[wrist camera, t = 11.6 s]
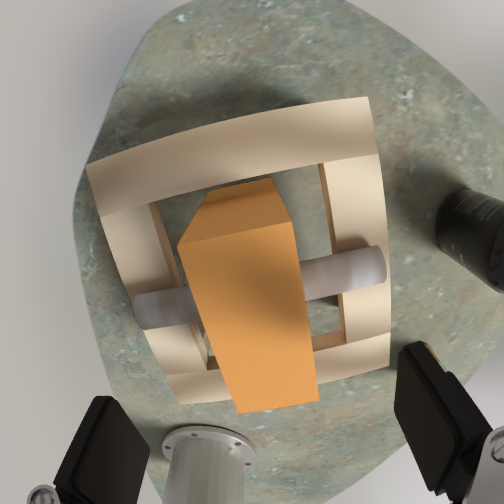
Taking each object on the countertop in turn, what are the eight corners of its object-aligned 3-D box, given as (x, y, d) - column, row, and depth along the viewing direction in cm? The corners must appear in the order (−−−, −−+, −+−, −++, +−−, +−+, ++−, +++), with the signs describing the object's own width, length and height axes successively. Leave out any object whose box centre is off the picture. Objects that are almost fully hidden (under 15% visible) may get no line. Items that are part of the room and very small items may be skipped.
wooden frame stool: (354, 303, 28) (399, 384, 17) (197, 335, 29) (175, 424, 18) (326, 111, 22) (383, 91, 11) (139, 155, 23) (65, 169, 13)
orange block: (294, 298, 23) (319, 399, 14) (241, 308, 23) (238, 413, 14) (271, 177, 20) (291, 221, 10) (210, 190, 20) (176, 246, 11)
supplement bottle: (426, 255, 26) (505, 320, 15) (439, 183, 24) (534, 218, 12) (476, 257, 26) (551, 312, 15) (488, 192, 24) (576, 228, 12)
